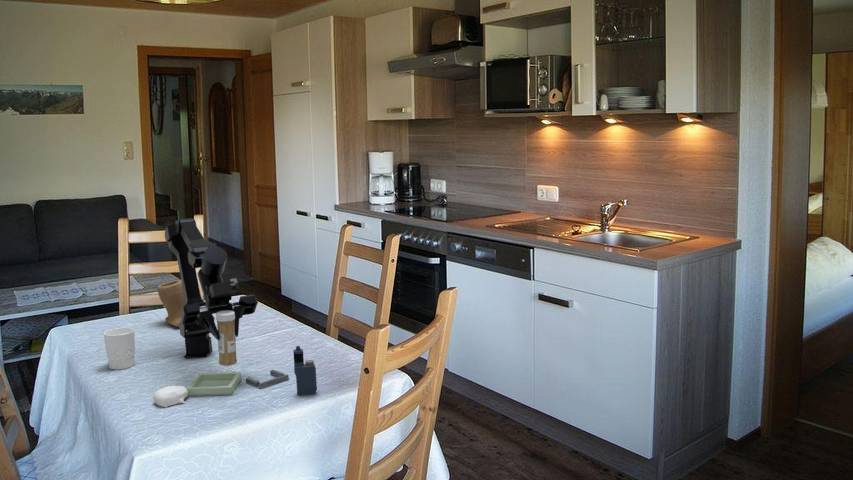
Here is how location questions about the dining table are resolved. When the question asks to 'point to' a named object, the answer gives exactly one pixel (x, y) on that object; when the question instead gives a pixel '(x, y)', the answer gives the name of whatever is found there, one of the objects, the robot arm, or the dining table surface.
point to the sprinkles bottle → (226, 337)
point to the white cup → (120, 347)
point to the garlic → (170, 395)
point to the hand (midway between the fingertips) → (228, 337)
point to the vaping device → (304, 373)
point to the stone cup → (172, 300)
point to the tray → (214, 384)
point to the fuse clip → (279, 375)
